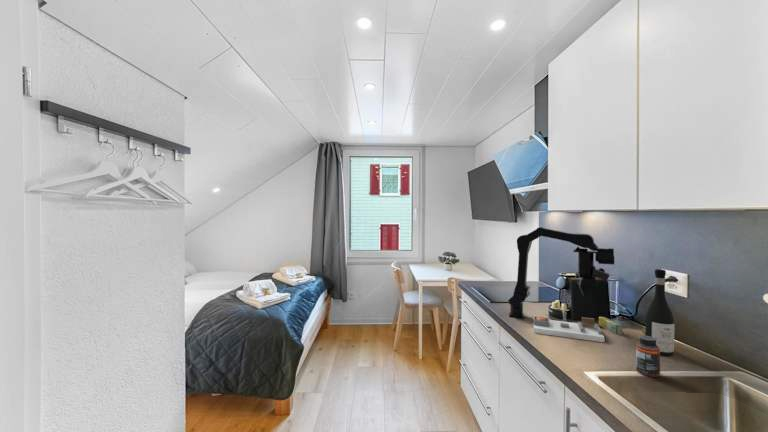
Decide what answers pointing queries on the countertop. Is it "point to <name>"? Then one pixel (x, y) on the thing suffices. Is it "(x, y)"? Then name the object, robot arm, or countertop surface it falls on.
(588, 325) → the paddle
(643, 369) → the supplement bottle
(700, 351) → the countertop surface
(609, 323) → the medication box
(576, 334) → the control panel
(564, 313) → the toggle lever
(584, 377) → the countertop surface
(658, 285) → the wine bottle
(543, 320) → the push button
